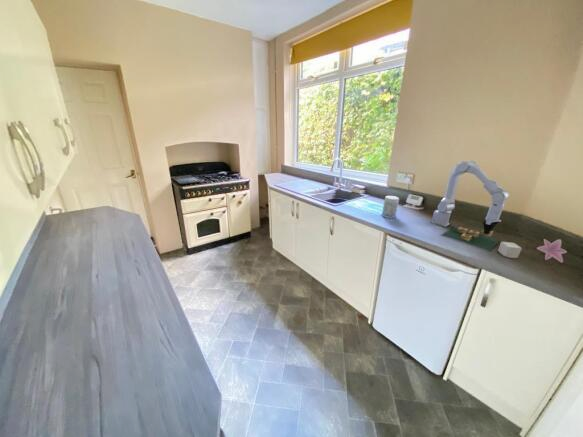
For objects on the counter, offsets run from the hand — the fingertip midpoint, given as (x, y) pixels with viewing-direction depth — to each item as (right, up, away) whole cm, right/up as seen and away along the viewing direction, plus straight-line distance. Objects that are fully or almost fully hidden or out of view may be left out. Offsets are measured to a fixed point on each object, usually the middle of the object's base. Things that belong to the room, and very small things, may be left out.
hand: (487, 232), depth 140 cm
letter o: (-12, -4, +1) cm, 13 cm away
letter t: (-4, -2, +6) cm, 7 cm away
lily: (+18, -12, -17) cm, 27 cm away
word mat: (-9, -4, +2) cm, 10 cm away
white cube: (-2, -11, -15) cm, 19 cm away
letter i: (-8, 0, +10) cm, 13 cm away
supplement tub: (-44, +10, +35) cm, 57 cm away
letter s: (0, -1, 0) cm, 1 cm away
